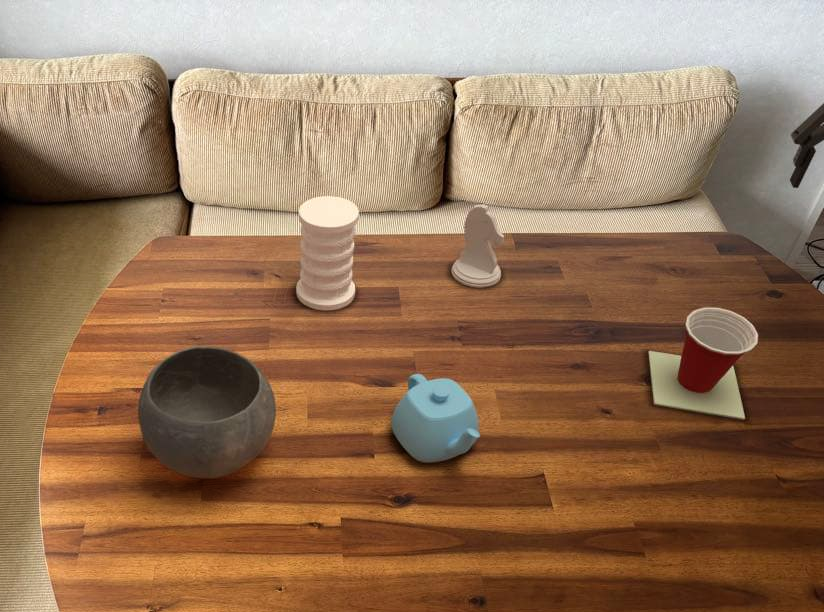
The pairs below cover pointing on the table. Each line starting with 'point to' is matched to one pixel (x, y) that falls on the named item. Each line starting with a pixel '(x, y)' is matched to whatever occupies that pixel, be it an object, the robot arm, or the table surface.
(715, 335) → the plastic cup
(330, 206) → the decorative container
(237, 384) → the bowl
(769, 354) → the table surface
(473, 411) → the teapot
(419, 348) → the table surface
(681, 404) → the mat
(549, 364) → the table surface
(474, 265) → the chess piece
